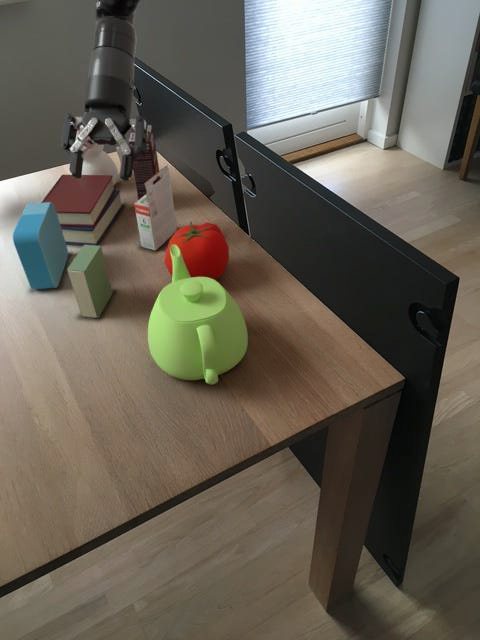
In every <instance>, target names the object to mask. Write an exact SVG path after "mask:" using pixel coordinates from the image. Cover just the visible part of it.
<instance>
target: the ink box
mask: <svg viewBox="0 0 480 640" xmlns="http://www.w3.org/2000/svg"><path fill="white" fill-rule="evenodd" d="M157 176H160V178H161V179H159V180H158V181H157V182H156V183H154V184H153V181H154V180H156V178H157ZM144 184H145V189H146V195H144V196H143V197H142V198H141V199H139V200H138V199H137V201H136V202H135V203H134V204H133V205H134V210H135V216H136V221H137V228H138V233H139V238H140V239H139V240H140V245H141V247H142V248H143V249H148V250H152V251H157V250H159V248H160V247H162V245H164V244H165V243H166V242H167V241H168V240H169V239H171V238H172V236H173V235H174V234H175V232H176V231H177V230H178V228H177V221H176V213H175V212H176V211H175V205H174V198H173V197H174V196H173V189H172V186H171V185H172V183H171V177H170V171H169V166H168V165H165V166H164V167H163V168H162V169H159V172H158V173H157V174H155V175H154V176H153V177H151V178H150V179H149V180H148V181H146V182H145V183H144Z"/></svg>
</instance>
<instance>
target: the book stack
mask: <svg viewBox="0 0 480 640" xmlns="http://www.w3.org/2000/svg"><path fill="white" fill-rule="evenodd" d="M47 202H52V203H53V204H54V206H55V209H56V213H57V216H58V219H59V222H60V226H61V229H62V232H63V236H64V239H65V242H66V245H72V246H84V245H95V246H99V243H100V242H101V240H102V239H103V237H104V236H105V234H106V233H107V231H108V230H109V229H110V227H111V225H112V224H113V222H114V221H115V219H116V218H117V216H118V215H119V213H120V211H121V210H122V209H123V207H124V203H122V202H123V201H122V197H121V189H116V188H115V185H114V186H113V181H112V175H82V176H81V179H79V178H75V177H74V176H72V174H61V175H60V177H59V178H58V179H57V180H56V182H55V183H54V184H53V186H52V187H51V189H50V190H49V191H48V193H47V194H46V196H44V198H43V199H42V201H41V202H40V203H47Z"/></svg>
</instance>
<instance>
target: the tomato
mask: <svg viewBox="0 0 480 640" xmlns="http://www.w3.org/2000/svg"><path fill="white" fill-rule="evenodd" d="M189 222H190V224H188V225H186V226H184V227H180V228H179V229H177V231H176V232H175V233H174V234H173V235H172V236H171V237H170V238H169V239H170V240H169V242H168V245H167V248H166V249H165V256H164V264H165V267H166V269H167V271H168V273H169V275H170V276H171V277H172V274H173V263H172V257H171V253H170V246H171V245H173V244H175V245H177V246H178V248H179V249H180V251H181V254H182V257H183V260H184V263H185V265H186V268H187V270H188V272H189V275H190V277H191V278H192V277H208V278H211V279H214V280H215V281H217V280H218V279H219V278H220V277H221V276H222V275H223V274H224V272H225V270H226V269H227V267H228V264H229V260H230V251H229V250H230V249H229V245H228V243H227V240H226V236H225V234H224V232H223V231H222V229H221V228H220V227H219V226H218V224H216V223H212V222H205V223H201V224H193V222H192V221H191V220H190V221H189Z"/></svg>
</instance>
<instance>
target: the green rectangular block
mask: <svg viewBox="0 0 480 640" xmlns="http://www.w3.org/2000/svg"><path fill="white" fill-rule="evenodd" d="M66 272H67V274H68V277H69V281H70V284H71V286H72V290H73V293H74V296H75V299H76V302H77V306H78V309H79V311H80V315H81V317H82V318H92V319H93V318H94V319H99V318H100V316H101V314H102V313H103V311H104V309H105V307H106V306H107V304H108V302H109V300H110V299H111V297H112V295H113V293H114V291H113V287H112V284H111V280H110V276H109V272H108V269H107V264H106V260H105V256H104V252H103V248H102V246H101V245H97V246H95V245H82V247H81V249H80V250H79V251H78V253H77V254H76V256H75V257H74V259H73V260H72V261H71V263H70V265H69V266H68V267H67V269H66Z"/></svg>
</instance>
